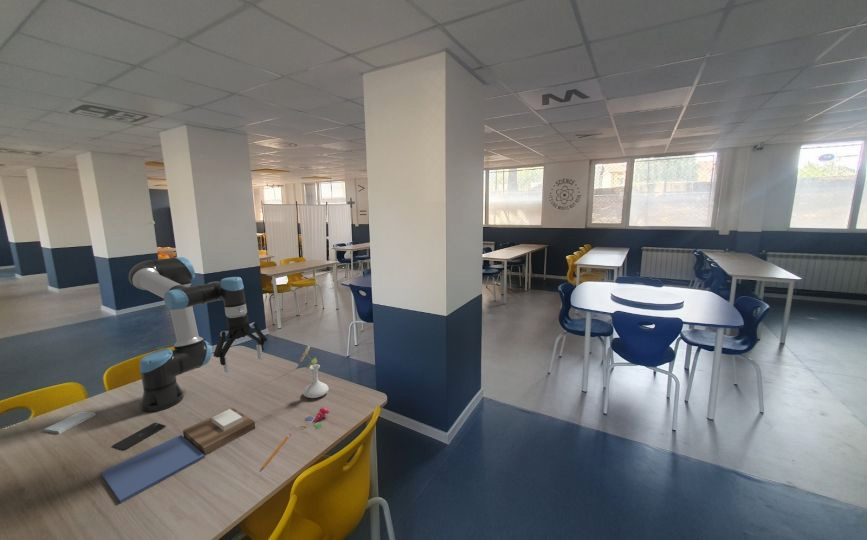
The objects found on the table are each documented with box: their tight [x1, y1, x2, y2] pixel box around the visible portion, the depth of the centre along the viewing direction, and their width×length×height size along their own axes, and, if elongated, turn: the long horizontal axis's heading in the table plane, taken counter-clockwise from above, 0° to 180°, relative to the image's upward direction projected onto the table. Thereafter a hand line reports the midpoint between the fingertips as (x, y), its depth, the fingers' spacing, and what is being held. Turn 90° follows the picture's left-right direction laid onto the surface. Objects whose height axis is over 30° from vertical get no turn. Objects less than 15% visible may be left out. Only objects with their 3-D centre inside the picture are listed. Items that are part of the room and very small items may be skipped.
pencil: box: [259, 433, 292, 472], centre depth 121 cm, size 1×1×19 cm
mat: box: [100, 434, 206, 504], centre depth 114 cm, size 20×22×1 cm
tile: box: [210, 408, 243, 431], centre depth 133 cm, size 10×7×2 cm
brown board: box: [182, 407, 256, 456], centre depth 131 cm, size 18×18×3 cm
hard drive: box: [42, 410, 97, 435], centre depth 138 cm, size 2×8×12 cm
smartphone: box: [111, 422, 167, 452], centre depth 130 cm, size 7×1×15 cm
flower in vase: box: [299, 345, 330, 399], centre depth 156 cm, size 13×11×25 cm
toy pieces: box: [298, 406, 330, 430], centre depth 137 cm, size 12×11×4 cm
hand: (244, 365), depth 139 cm, fingers open, 13 cm apart
